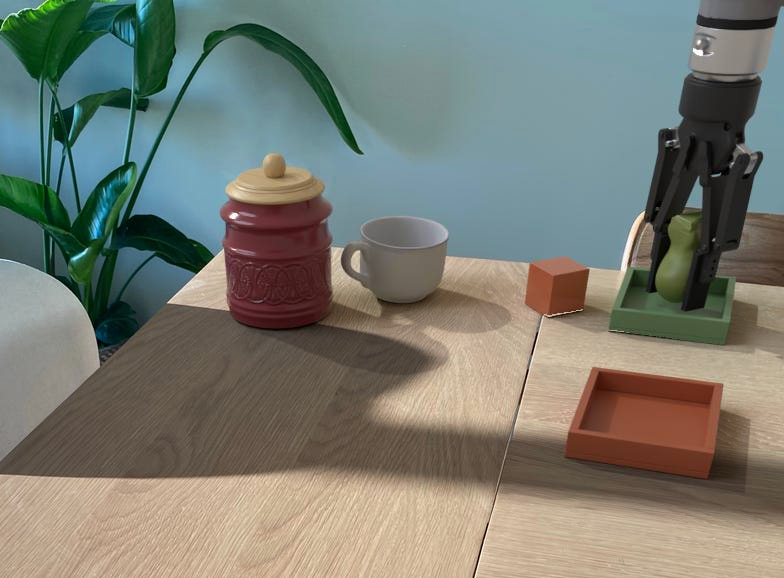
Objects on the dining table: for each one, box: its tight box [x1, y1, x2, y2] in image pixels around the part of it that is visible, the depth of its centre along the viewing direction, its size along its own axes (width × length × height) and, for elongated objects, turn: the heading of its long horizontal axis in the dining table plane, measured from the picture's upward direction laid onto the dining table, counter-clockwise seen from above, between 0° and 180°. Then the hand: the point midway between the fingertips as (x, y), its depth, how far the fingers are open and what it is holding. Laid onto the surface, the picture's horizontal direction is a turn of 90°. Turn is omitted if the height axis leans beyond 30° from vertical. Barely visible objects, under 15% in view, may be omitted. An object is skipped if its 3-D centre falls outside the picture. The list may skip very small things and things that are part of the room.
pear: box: [655, 209, 702, 303], centre depth 111 cm, size 6×5×10 cm
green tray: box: [608, 266, 737, 346], centre depth 114 cm, size 15×13×3 cm
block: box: [524, 255, 591, 316], centre depth 116 cm, size 5×5×5 cm
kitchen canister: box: [219, 152, 334, 330], centre depth 113 cm, size 13×13×18 cm
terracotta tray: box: [563, 366, 724, 480], centre depth 93 cm, size 15×13×3 cm
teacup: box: [340, 215, 450, 304], centre depth 119 cm, size 14×11×8 cm
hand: (674, 299), depth 114 cm, fingers closed on pear, 6 cm apart
